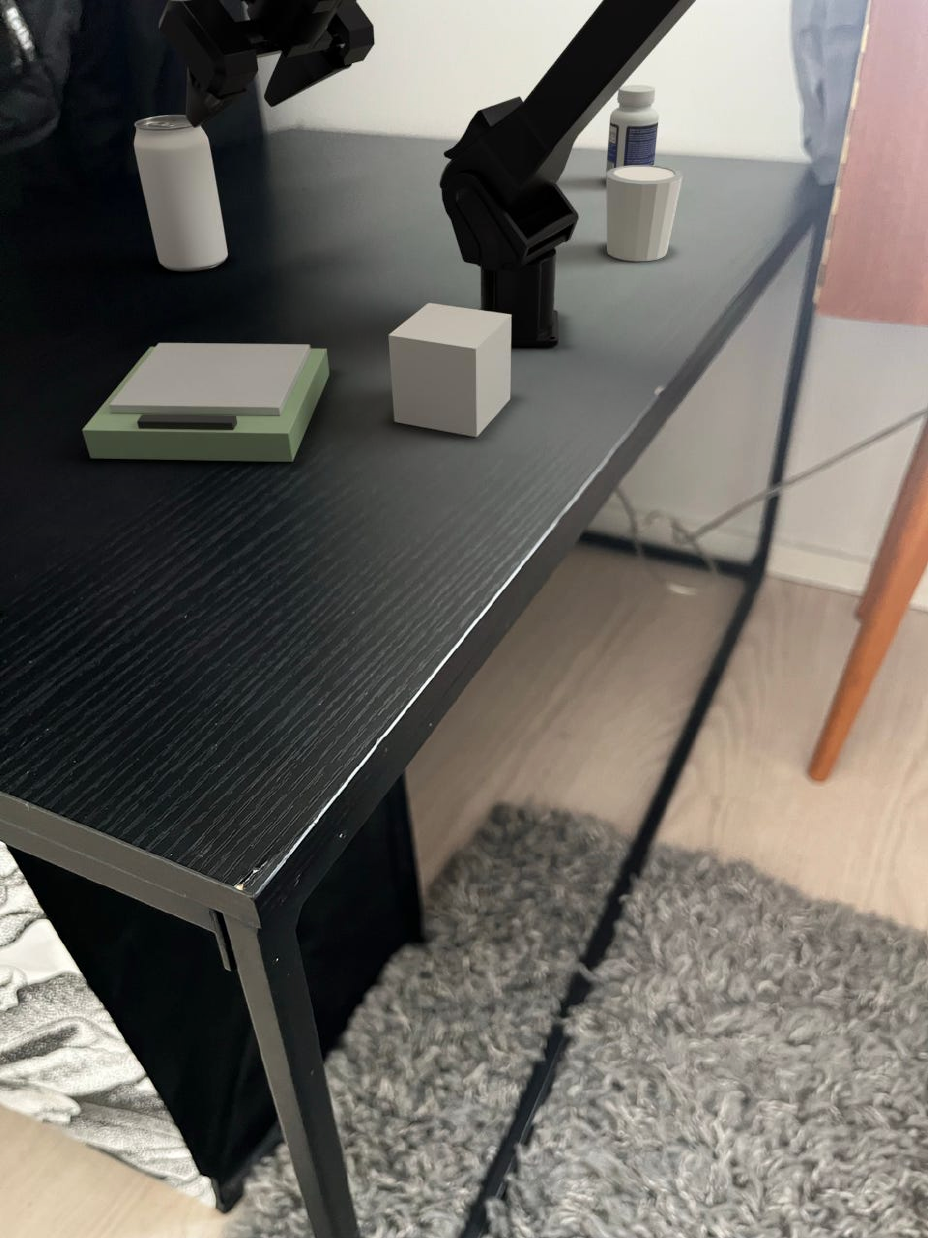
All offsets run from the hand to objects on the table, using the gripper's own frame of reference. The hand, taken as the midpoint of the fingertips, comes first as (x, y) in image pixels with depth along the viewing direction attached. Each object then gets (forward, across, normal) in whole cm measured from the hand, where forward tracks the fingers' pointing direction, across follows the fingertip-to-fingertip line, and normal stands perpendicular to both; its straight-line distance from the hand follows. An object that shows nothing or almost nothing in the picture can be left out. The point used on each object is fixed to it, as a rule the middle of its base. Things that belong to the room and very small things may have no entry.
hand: (231, 111), depth 78 cm
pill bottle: (-2, -45, +22) cm, 50 cm away
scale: (-2, +23, +21) cm, 31 cm away
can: (+15, 0, +4) cm, 16 cm away
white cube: (-12, +14, +31) cm, 36 cm away
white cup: (-10, -23, +29) cm, 38 cm away
